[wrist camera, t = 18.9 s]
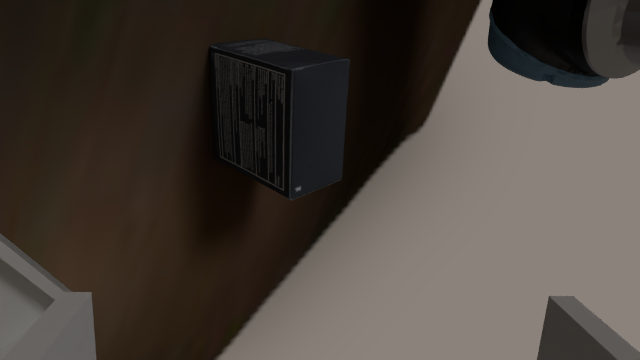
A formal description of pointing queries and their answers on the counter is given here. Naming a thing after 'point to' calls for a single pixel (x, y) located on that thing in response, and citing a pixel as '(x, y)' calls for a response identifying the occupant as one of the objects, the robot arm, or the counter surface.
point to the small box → (279, 113)
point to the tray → (22, 294)
